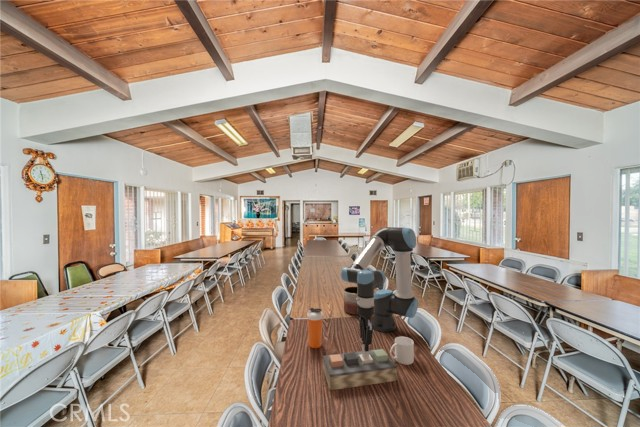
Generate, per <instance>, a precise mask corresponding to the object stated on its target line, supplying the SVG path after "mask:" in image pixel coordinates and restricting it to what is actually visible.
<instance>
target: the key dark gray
mask: <svg viewBox="0 0 640 427" xmlns="http://www.w3.org/2000/svg"><path fill="white" fill-rule="evenodd" d="M355 352H356V351H353V353H350V352H344V353H345V354H344V361H345V363H346V365H347V366H352V365H358V357H357V356H356V354H355Z"/></svg>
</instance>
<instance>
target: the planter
mask: <svg viewBox="0 0 640 427" xmlns="http://www.w3.org/2000/svg"><path fill="white" fill-rule="evenodd" d="M356 299H357V286H348V287H345V288H344V289H343V310H344V312H345V313H347V314H349V315H353V316H354V315H355V316H358V315H359V314H358V313H357V305H358V304H357V300H356Z"/></svg>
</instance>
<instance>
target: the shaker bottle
mask: <svg viewBox="0 0 640 427" xmlns="http://www.w3.org/2000/svg"><path fill="white" fill-rule="evenodd" d="M306 319H307V331H308V332H307V334H308V335H307V336H308V346H309V347H310V348H311V349H319V348H320V347H322V342H323V341H322V339H323V338H322V337H323V319H324V313H323V312H322V309H321V308H314V307H310V308H309V309H308V311H307V315H306Z"/></svg>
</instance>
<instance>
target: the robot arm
mask: <svg viewBox="0 0 640 427" xmlns="http://www.w3.org/2000/svg"><path fill="white" fill-rule="evenodd" d="M416 246H417V237H416V232H415V231H414V229H413V228H409V227H397V226H396V227H390V226H389V227H383V228H381V229H378V230H376V231H375V232H374V233H373V234H372V235H371V236H370V238H369V240H368V243H367V244H366V246H365V247H364V248H363V249H362V251H361V252H360V254H358V256H357V257H356V258H355V260H354V261H353V262H352V263H351V265H350V266H344V267H343V268H341V272H340V277H341V279H342V281H343V282H346V283H349V284H356V285H357V286H356V287H357V299H356V300H357V304H358V305H357V313H358V314H359V315H357V316H358V322H359V323H358V324H359V335H360V339H361V342H362V344H361V349H362V350H361V351H362V356H363V358H368V357H369V350H370V345H372V342H373V340H372V339H373V331H374V330H375V331H377V332H378V331H379V332H381V333H390V332H394V331H395V330H396V329H397V328H396V326H397V324H396V321H395V318H394V315H398V316H401V317H405V318H408V319H409V318H410V319H412V318H414V317H416V314H417V312H418V308H419V299H418V298H416V297H415V294H414V292H413V291H412V268H411V267H412V266H411V264H412V263H411V260H412V259H411V253H412V252H413V251H414V249H415V248H416ZM384 247H392V251H393V252H394V253H395V255H394V256H395V257H394V258H395V277H396V278H395V279H396V291H395V292H393V290H391V289H387V288H386V289H377V288H379V287H382V286H383V285H384V284H385V283H386V280H387V276H386V274H385V273H384V271H383V270H380V269H375V270H368V267H369V266H370V265H371V263H372V262H373V260H374V259H375V257H376V256H377V255H378V253H379V252H380V250H382V249H384ZM376 289H377V290H376ZM371 318H372V319H371Z"/></svg>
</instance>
